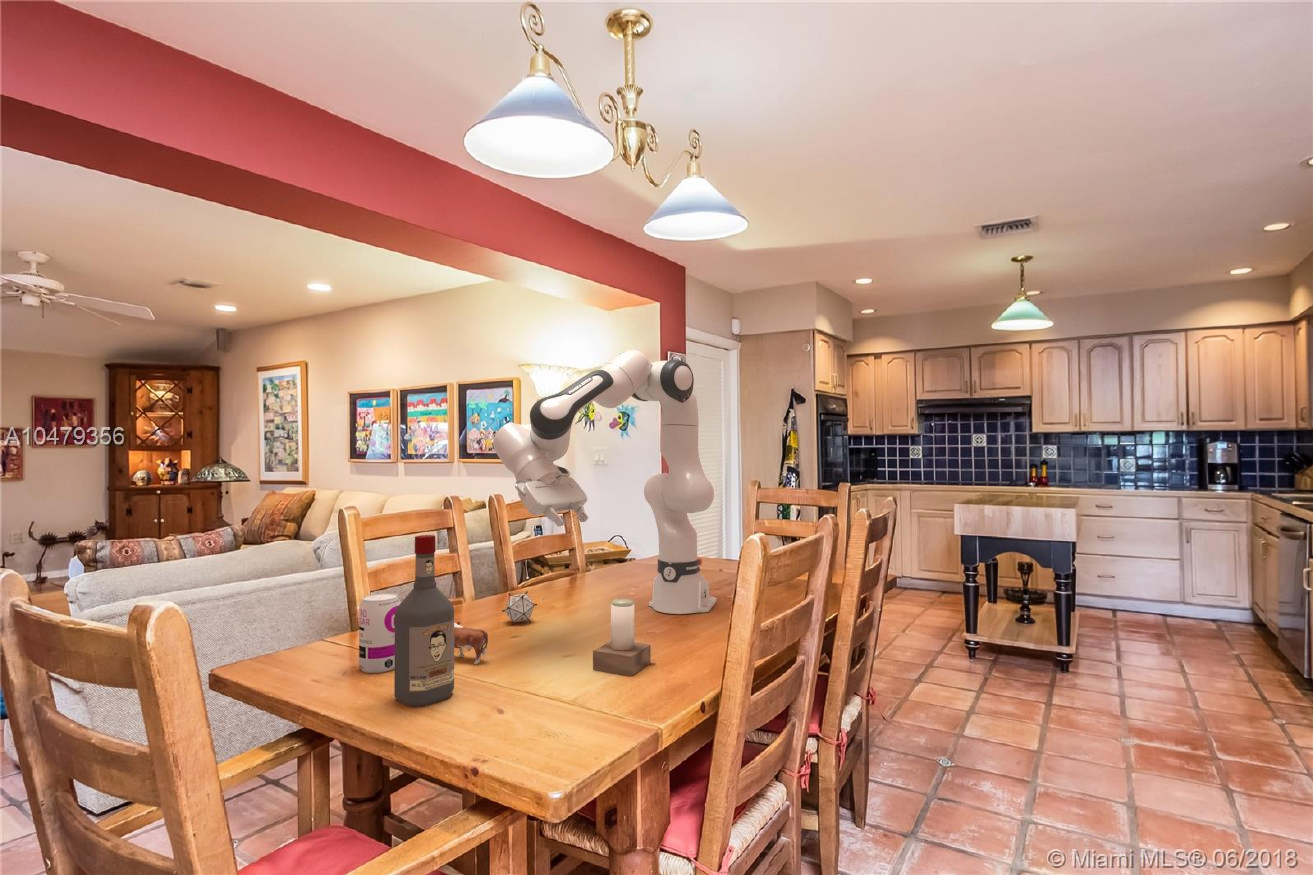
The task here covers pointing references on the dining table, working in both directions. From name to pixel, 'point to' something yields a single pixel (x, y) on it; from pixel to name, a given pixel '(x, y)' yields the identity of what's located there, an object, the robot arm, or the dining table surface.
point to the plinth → (622, 659)
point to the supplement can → (377, 632)
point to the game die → (519, 607)
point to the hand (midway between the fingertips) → (574, 522)
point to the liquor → (424, 635)
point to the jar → (622, 624)
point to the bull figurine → (470, 640)
